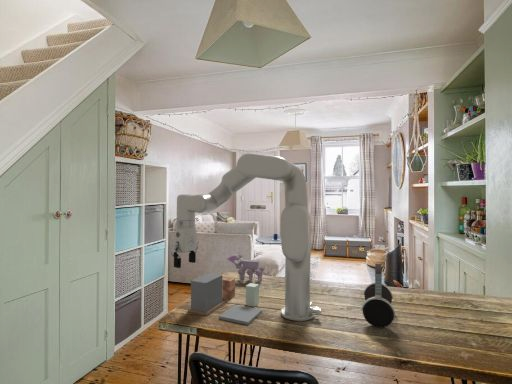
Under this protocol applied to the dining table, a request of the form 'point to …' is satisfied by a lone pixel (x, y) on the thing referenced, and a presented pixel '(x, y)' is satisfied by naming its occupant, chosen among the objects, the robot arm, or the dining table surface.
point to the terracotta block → (228, 288)
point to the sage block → (252, 294)
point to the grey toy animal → (247, 267)
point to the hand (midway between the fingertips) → (184, 264)
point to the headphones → (378, 302)
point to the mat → (240, 314)
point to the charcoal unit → (206, 294)
